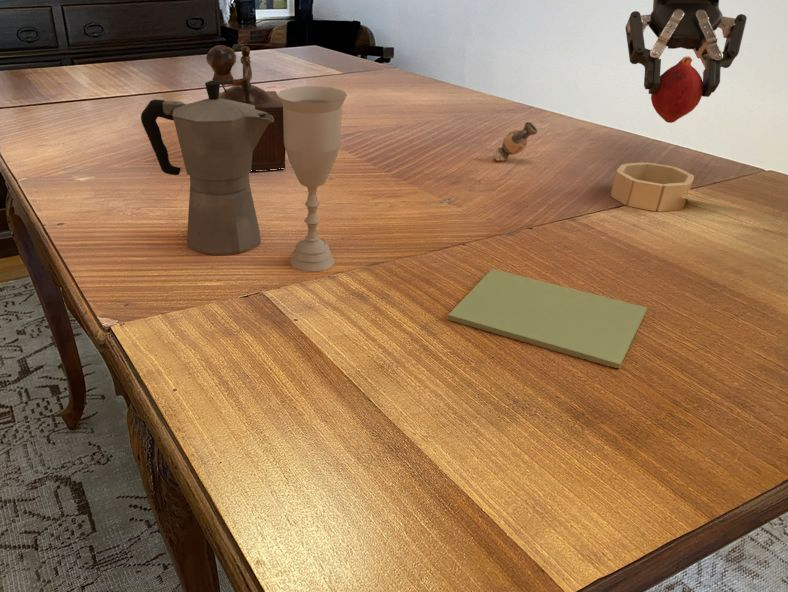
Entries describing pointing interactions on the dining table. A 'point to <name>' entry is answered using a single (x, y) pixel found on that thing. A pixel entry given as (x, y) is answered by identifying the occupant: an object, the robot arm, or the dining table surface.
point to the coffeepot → (213, 167)
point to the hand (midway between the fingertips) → (681, 91)
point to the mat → (551, 317)
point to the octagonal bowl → (651, 186)
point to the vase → (515, 142)
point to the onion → (678, 91)
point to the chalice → (312, 158)
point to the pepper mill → (272, 140)
